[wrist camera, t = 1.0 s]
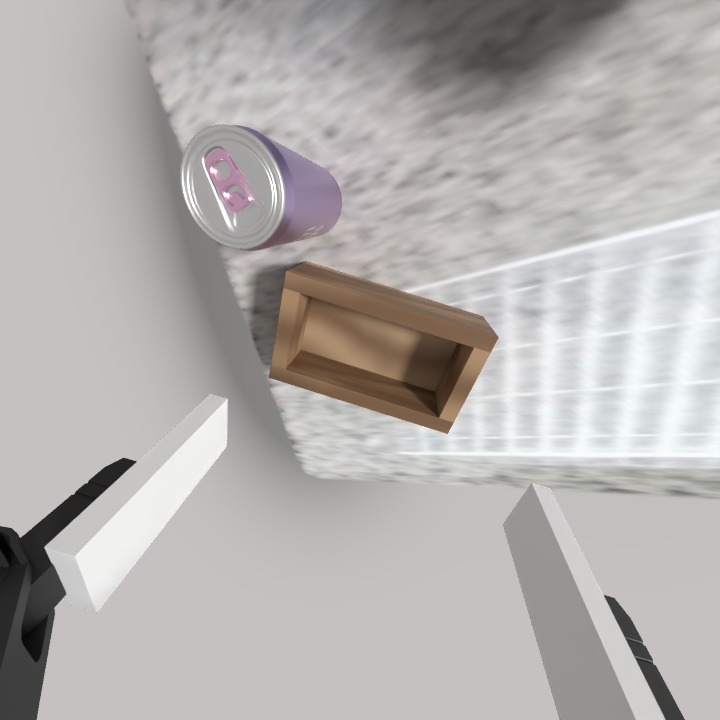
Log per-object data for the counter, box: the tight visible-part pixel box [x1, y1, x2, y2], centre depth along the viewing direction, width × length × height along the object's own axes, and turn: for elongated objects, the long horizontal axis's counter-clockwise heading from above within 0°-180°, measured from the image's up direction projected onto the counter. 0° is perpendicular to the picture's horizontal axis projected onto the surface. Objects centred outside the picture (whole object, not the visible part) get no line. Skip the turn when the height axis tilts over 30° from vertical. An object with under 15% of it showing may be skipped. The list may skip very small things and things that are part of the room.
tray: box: [269, 261, 499, 434], centre depth 31 cm, size 11×19×6 cm, turn 74°
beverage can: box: [180, 125, 342, 251], centre depth 22 cm, size 6×6×15 cm
